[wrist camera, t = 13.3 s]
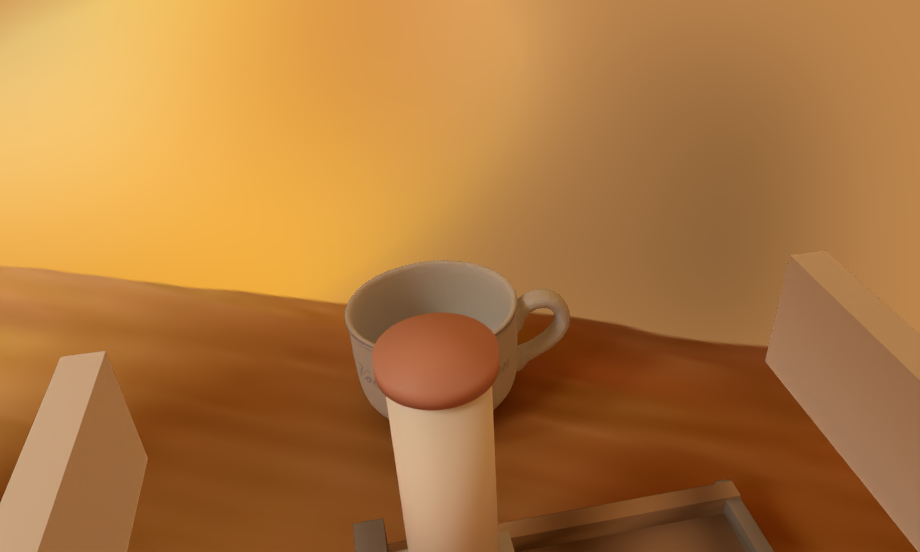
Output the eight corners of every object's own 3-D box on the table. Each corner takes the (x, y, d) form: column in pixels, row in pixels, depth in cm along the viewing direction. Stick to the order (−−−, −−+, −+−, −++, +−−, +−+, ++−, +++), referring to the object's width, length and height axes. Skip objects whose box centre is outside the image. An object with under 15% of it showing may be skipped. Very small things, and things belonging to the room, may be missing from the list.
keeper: (402, 672, 34) (356, 407, 25) (392, 579, 38) (349, 323, 29) (533, 645, 34) (532, 379, 26) (509, 557, 38) (501, 301, 30)
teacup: (344, 453, 47) (324, 352, 42) (377, 344, 56) (363, 252, 52) (570, 460, 45) (574, 356, 41) (566, 347, 54) (569, 252, 50)
